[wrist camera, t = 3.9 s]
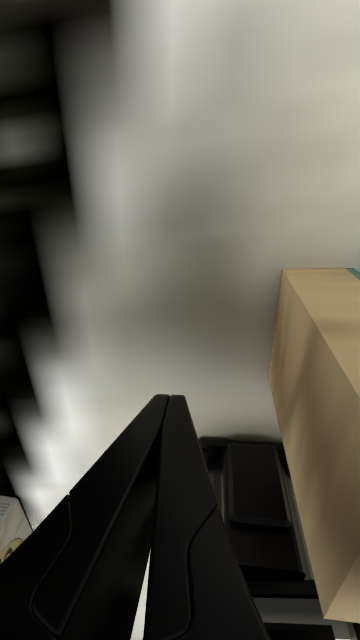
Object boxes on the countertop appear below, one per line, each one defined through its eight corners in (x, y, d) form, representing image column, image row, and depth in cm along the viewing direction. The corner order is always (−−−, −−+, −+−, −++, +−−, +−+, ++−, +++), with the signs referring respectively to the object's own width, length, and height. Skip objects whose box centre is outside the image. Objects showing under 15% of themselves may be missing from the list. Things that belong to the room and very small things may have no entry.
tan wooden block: (324, 380, 15) (448, 635, 7) (268, 378, 15) (323, 618, 7) (353, 268, 12) (629, 487, 4) (282, 268, 12) (402, 470, 4)
